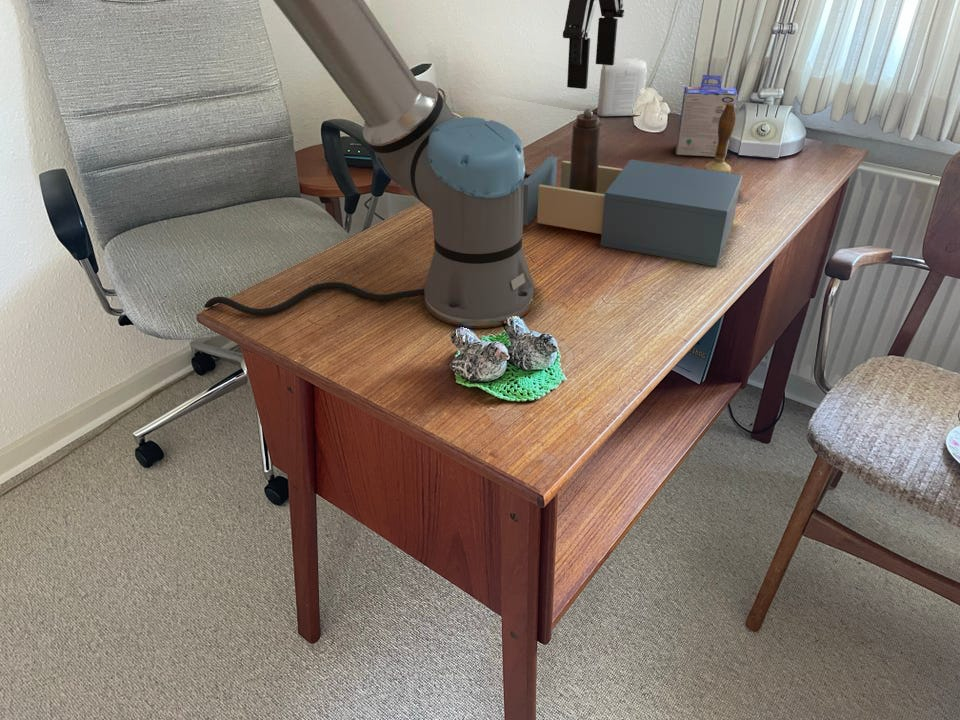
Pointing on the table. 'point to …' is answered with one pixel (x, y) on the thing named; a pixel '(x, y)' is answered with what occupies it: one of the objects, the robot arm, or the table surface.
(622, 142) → the table surface
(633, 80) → the white tall block
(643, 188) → the cabinet
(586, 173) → the pepper mill
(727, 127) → the hand bell
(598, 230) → the drawer
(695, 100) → the ink cartridge box
